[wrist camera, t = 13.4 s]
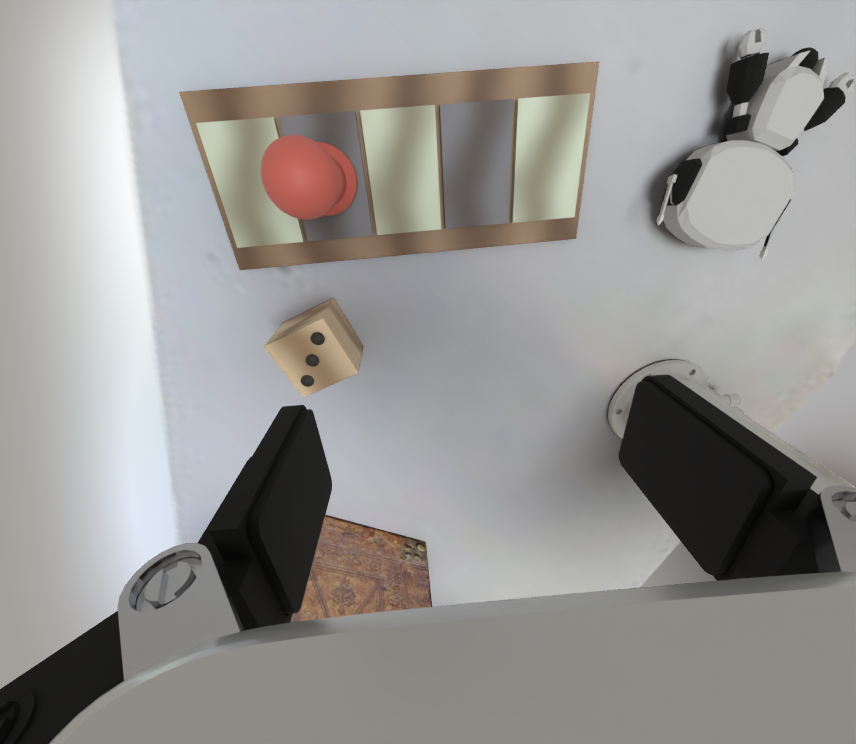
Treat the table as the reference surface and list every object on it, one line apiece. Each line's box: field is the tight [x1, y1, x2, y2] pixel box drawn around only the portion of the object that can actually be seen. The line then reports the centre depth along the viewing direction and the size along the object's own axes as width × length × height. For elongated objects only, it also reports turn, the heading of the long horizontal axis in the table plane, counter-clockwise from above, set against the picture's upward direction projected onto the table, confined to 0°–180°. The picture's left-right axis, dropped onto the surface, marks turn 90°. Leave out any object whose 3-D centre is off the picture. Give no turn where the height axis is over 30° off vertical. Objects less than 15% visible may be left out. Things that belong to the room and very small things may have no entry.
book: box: [290, 515, 432, 622], centre depth 40 cm, size 25×9×30 cm, turn 61°
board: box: [179, 62, 599, 270], centre depth 29 cm, size 32×13×1 cm, turn 94°
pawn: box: [261, 135, 358, 220], centre depth 23 cm, size 5×5×11 cm
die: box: [264, 298, 363, 397], centre depth 33 cm, size 6×6×6 cm
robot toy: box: [656, 28, 855, 260], centre depth 30 cm, size 12×4×15 cm
